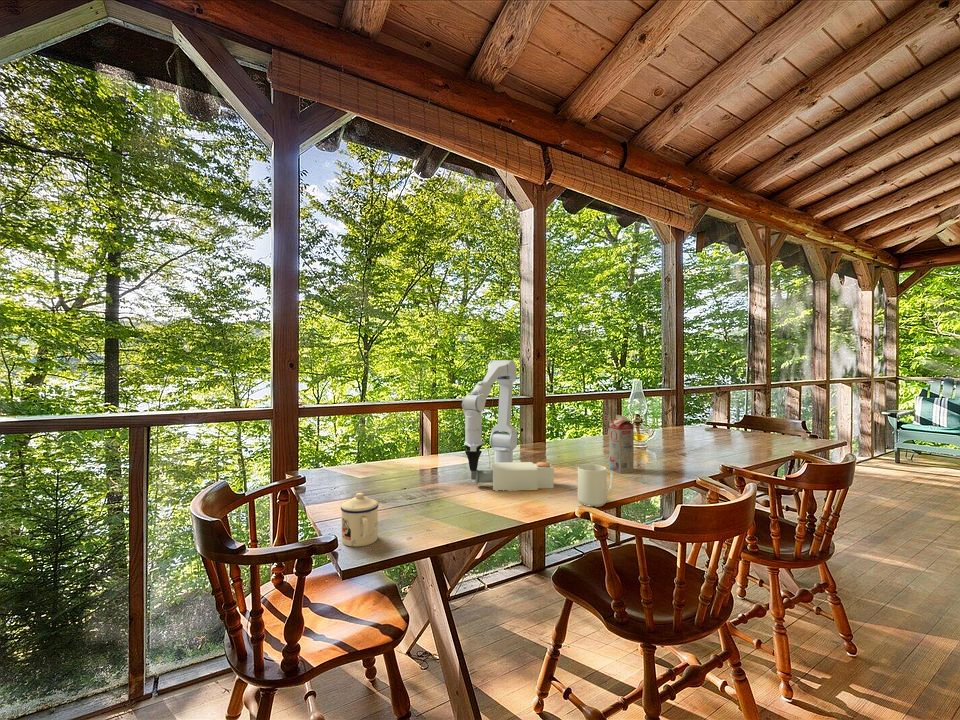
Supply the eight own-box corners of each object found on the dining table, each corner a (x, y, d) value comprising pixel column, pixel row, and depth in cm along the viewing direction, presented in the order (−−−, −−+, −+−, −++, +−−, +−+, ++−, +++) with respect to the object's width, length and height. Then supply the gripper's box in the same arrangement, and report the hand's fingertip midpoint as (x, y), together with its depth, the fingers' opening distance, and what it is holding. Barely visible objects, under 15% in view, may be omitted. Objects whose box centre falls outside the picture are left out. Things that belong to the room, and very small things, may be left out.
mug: (587, 509, 142) (587, 472, 142) (572, 500, 151) (572, 465, 150) (621, 505, 146) (621, 468, 146) (604, 496, 154) (604, 462, 154)
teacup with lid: (337, 537, 120) (337, 491, 120) (373, 531, 124) (373, 486, 124) (346, 555, 110) (346, 504, 109) (385, 548, 113) (385, 499, 113)
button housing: (490, 481, 173) (490, 462, 173) (548, 481, 174) (548, 461, 174) (493, 491, 161) (493, 470, 161) (555, 490, 162) (555, 469, 162)
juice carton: (619, 473, 185) (619, 416, 185) (609, 469, 191) (609, 414, 191) (633, 471, 187) (633, 416, 187) (623, 468, 194) (623, 414, 193)
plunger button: (535, 472, 170) (535, 462, 170) (548, 471, 170) (548, 461, 170) (537, 475, 165) (537, 465, 165) (551, 475, 165) (551, 464, 165)
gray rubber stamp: (470, 481, 169) (470, 459, 169) (505, 481, 169) (505, 459, 169) (471, 485, 164) (471, 462, 164) (506, 484, 165) (506, 462, 164)
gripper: (485, 432, 159) (485, 473, 159) (484, 426, 173) (484, 463, 174) (464, 432, 159) (464, 473, 159) (465, 426, 173) (465, 463, 173)
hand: (473, 468), depth 166 cm, fingers open, 7 cm apart
